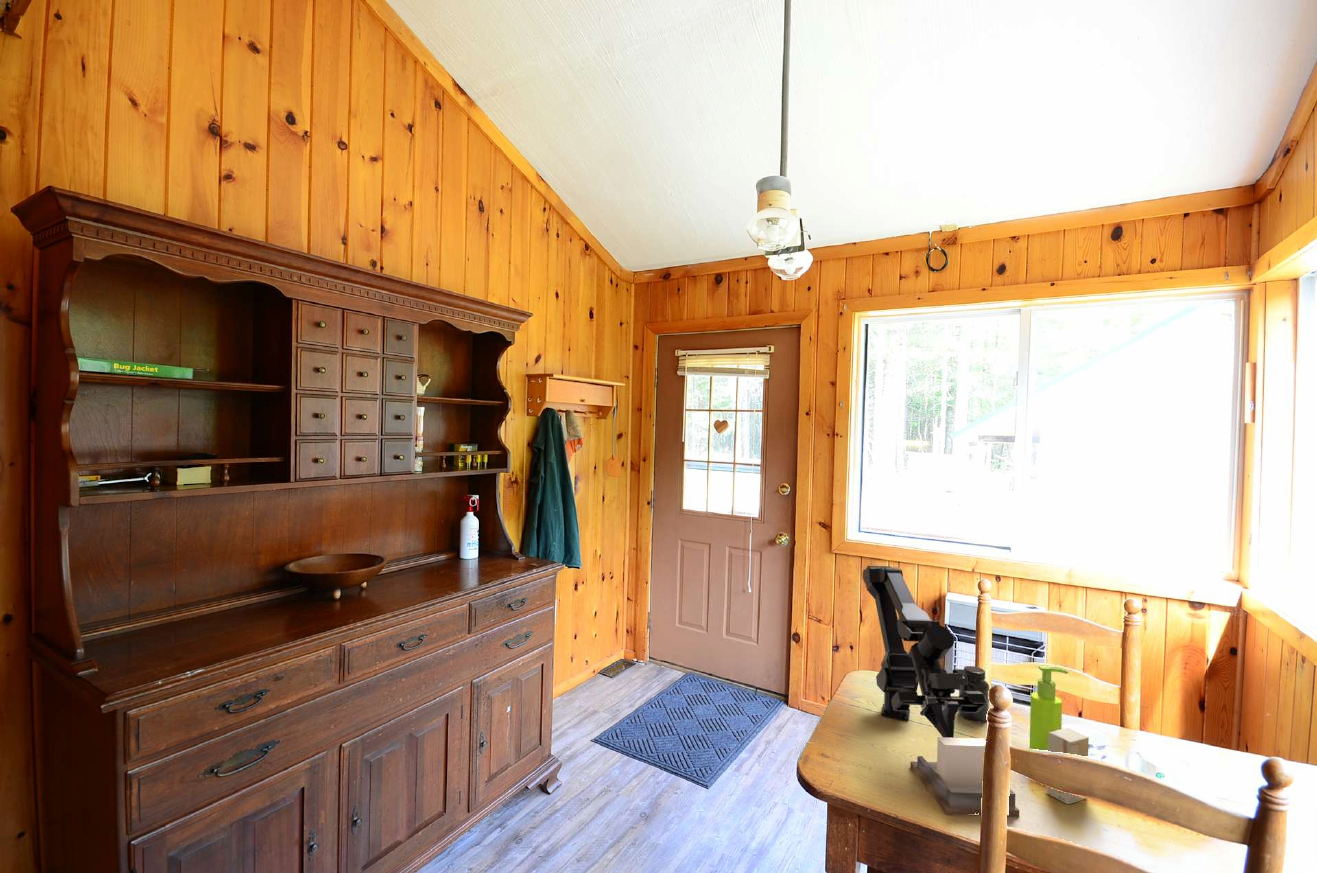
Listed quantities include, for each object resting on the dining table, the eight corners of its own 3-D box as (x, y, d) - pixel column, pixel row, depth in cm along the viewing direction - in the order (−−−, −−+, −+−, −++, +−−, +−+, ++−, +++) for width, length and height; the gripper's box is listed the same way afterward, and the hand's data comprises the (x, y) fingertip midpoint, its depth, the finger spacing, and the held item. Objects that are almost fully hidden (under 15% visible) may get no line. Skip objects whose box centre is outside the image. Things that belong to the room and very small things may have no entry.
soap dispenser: (1071, 765, 129) (1073, 673, 129) (1035, 761, 130) (1038, 670, 130) (1058, 751, 135) (1060, 663, 135) (1025, 747, 136) (1027, 660, 136)
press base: (910, 767, 127) (910, 747, 127) (974, 768, 126) (974, 749, 126) (946, 814, 111) (946, 792, 111) (1019, 816, 110) (1019, 794, 110)
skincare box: (1067, 806, 114) (1069, 742, 114) (1045, 793, 118) (1046, 732, 118) (1088, 798, 117) (1090, 736, 117) (1066, 786, 121) (1067, 726, 121)
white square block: (934, 778, 120) (935, 734, 120) (979, 779, 120) (980, 736, 120) (943, 789, 116) (944, 745, 116) (990, 791, 116) (991, 746, 116)
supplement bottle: (973, 709, 155) (974, 663, 155) (995, 721, 149) (996, 673, 149) (952, 711, 153) (953, 665, 153) (973, 724, 147) (974, 676, 147)
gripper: (898, 652, 128) (918, 729, 117) (984, 655, 128) (1012, 731, 117) (883, 673, 136) (901, 747, 125) (964, 676, 136) (989, 749, 125)
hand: (950, 743), depth 123 cm, fingers closed
